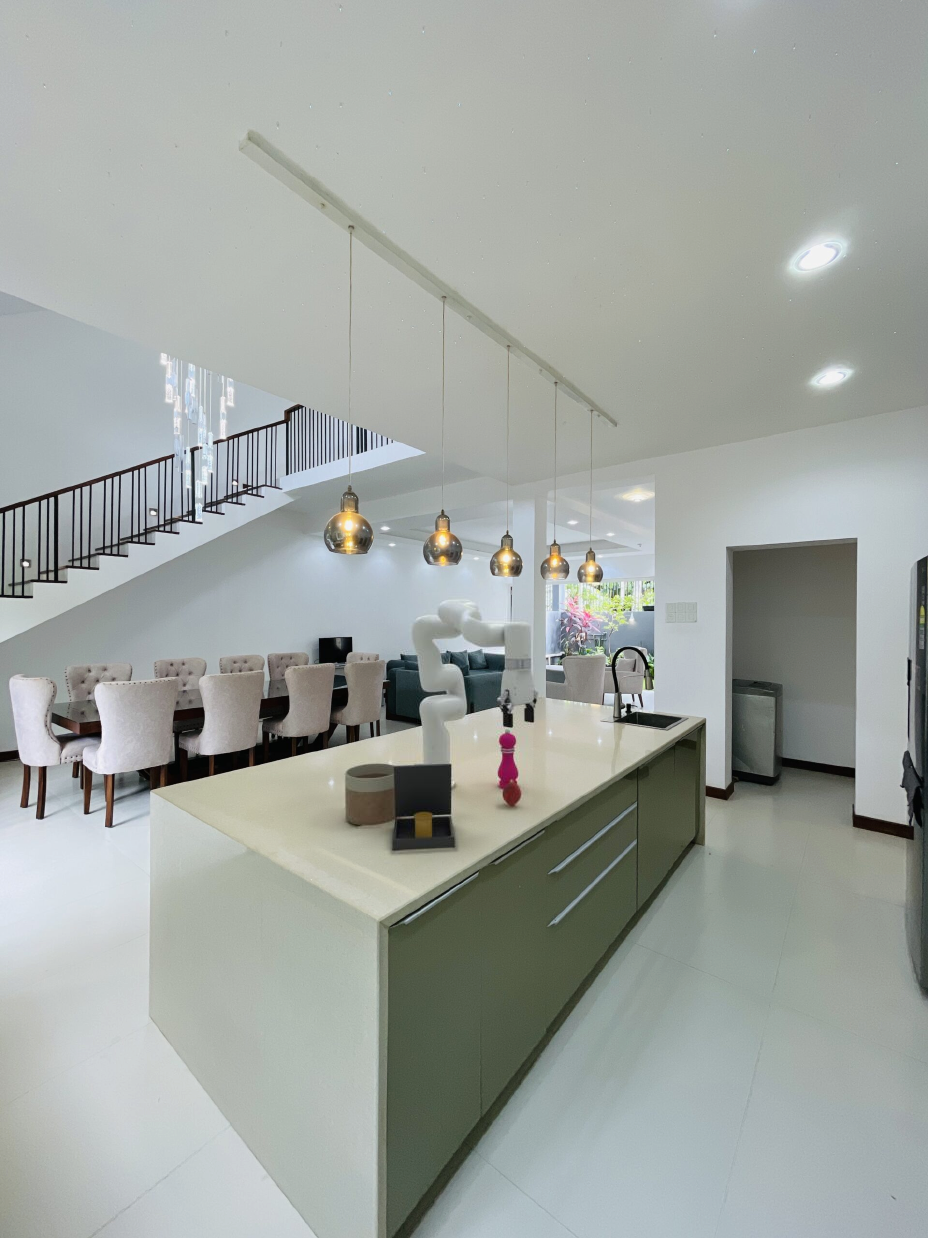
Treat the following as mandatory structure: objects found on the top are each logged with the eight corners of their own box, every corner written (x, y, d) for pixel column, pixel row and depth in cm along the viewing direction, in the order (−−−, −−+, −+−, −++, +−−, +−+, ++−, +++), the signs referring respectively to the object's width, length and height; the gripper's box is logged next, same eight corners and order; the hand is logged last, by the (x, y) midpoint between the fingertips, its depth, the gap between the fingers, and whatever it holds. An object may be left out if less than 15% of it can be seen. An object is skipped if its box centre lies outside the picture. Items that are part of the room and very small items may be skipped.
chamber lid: (451, 765, 140) (450, 756, 144) (393, 767, 138) (394, 758, 143) (451, 814, 144) (450, 804, 148) (395, 817, 142) (395, 807, 147)
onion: (520, 809, 157) (519, 783, 157) (501, 808, 158) (501, 782, 158) (522, 803, 162) (521, 777, 163) (503, 802, 164) (503, 777, 164)
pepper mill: (496, 783, 183) (495, 727, 183) (516, 782, 183) (515, 726, 183) (499, 790, 176) (498, 731, 176) (520, 789, 176) (519, 730, 176)
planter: (353, 832, 142) (353, 781, 142) (339, 813, 156) (339, 767, 156) (407, 821, 149) (407, 773, 149) (389, 804, 163) (389, 760, 163)
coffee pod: (410, 839, 135) (409, 816, 135) (423, 832, 139) (423, 810, 139) (423, 844, 132) (423, 820, 132) (437, 837, 135) (436, 814, 135)
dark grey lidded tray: (454, 850, 129) (454, 837, 129) (392, 853, 128) (392, 840, 128) (451, 827, 144) (451, 815, 144) (395, 830, 143) (395, 818, 143)
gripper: (526, 662, 157) (527, 718, 157) (488, 666, 144) (489, 727, 144) (546, 663, 151) (547, 721, 151) (508, 667, 139) (509, 731, 139)
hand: (518, 724), depth 148 cm, fingers open, 9 cm apart
